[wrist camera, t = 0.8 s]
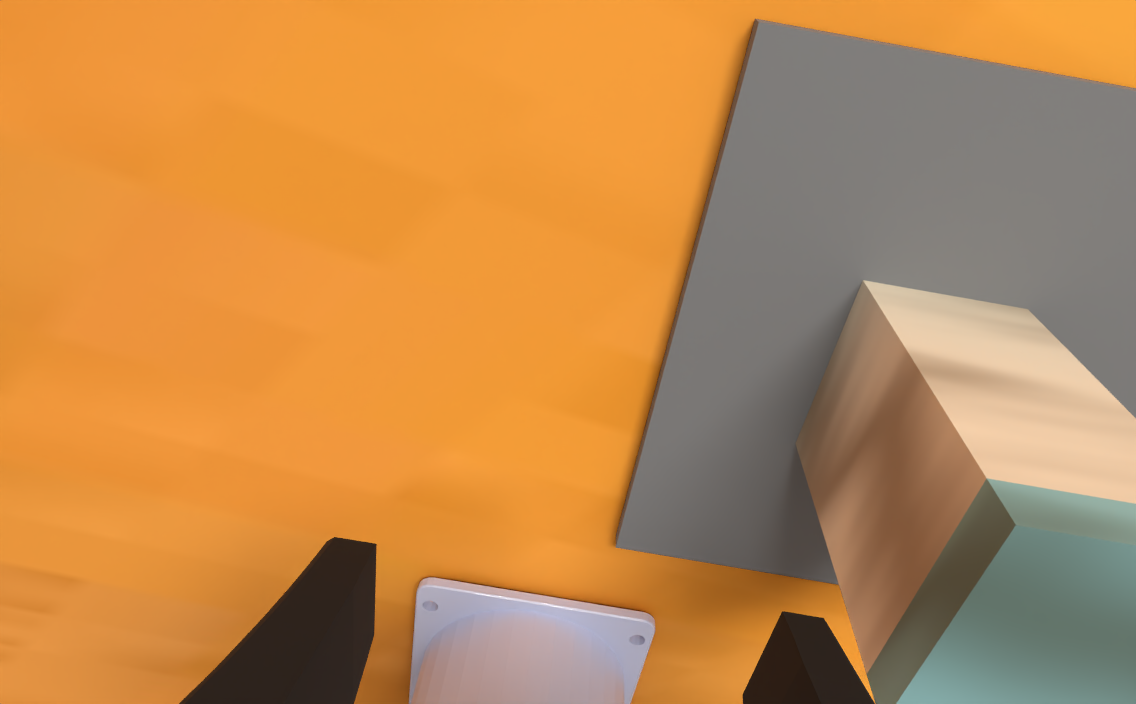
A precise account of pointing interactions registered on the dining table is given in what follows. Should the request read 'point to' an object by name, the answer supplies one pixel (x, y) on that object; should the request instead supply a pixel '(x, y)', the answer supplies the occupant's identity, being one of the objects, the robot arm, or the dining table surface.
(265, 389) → the dining table surface
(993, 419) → the maple block
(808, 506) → the rubber mat
